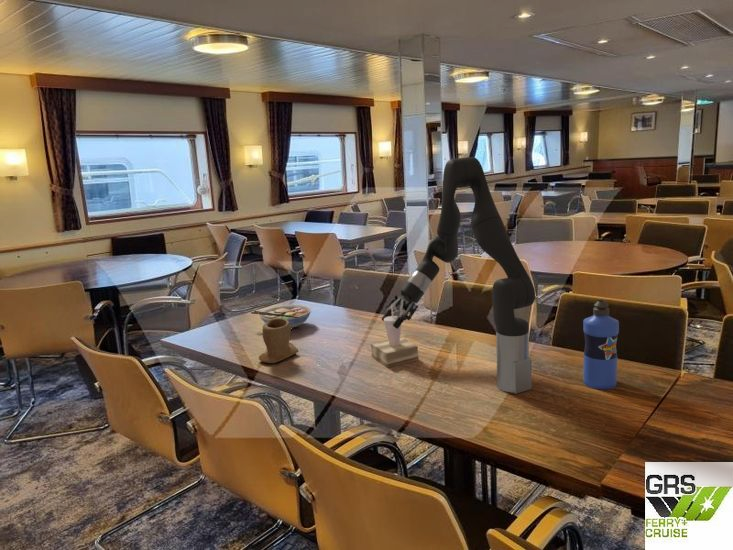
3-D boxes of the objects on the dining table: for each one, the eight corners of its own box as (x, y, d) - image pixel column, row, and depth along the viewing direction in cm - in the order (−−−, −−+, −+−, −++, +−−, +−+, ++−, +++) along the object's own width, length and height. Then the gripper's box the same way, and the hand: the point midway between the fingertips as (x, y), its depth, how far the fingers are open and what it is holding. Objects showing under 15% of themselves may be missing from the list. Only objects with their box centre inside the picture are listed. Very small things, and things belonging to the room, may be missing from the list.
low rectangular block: (418, 359, 186) (417, 346, 185) (387, 367, 181) (386, 353, 180) (401, 349, 197) (400, 336, 196) (371, 357, 192) (370, 343, 191)
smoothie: (403, 341, 191) (401, 303, 188) (403, 347, 185) (400, 308, 182) (385, 342, 192) (383, 304, 189) (384, 348, 186) (382, 309, 183)
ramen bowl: (325, 322, 237) (324, 305, 235) (292, 339, 218) (290, 319, 217) (282, 317, 250) (280, 300, 249) (247, 332, 232) (245, 314, 230)
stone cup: (276, 368, 188) (271, 327, 185) (254, 362, 196) (249, 322, 193) (307, 354, 200) (303, 315, 196) (285, 349, 207) (281, 311, 204)
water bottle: (575, 380, 161) (576, 300, 156) (600, 374, 164) (601, 295, 159) (599, 392, 152) (600, 307, 147) (624, 385, 156) (627, 302, 150)
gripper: (399, 277, 193) (372, 313, 191) (419, 284, 180) (391, 323, 178) (412, 289, 196) (386, 325, 194) (433, 296, 184) (406, 335, 181)
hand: (389, 324), depth 186 cm, fingers open, 8 cm apart
